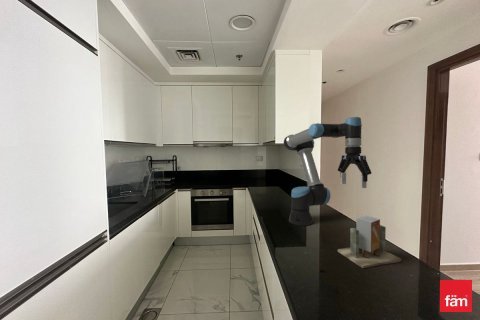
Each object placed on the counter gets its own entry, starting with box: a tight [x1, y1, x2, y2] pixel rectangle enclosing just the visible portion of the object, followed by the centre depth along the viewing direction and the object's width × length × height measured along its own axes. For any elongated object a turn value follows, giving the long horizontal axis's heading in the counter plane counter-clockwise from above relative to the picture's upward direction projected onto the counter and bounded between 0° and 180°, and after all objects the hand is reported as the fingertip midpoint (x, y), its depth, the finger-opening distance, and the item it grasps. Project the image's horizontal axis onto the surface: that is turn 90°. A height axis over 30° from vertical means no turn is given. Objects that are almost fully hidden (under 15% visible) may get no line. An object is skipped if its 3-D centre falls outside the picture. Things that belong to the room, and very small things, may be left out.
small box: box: [355, 215, 381, 252], centre depth 87 cm, size 8×6×13 cm
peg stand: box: [337, 224, 402, 269], centre depth 87 cm, size 14×20×13 cm
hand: (352, 185), depth 105 cm, fingers open, 13 cm apart
